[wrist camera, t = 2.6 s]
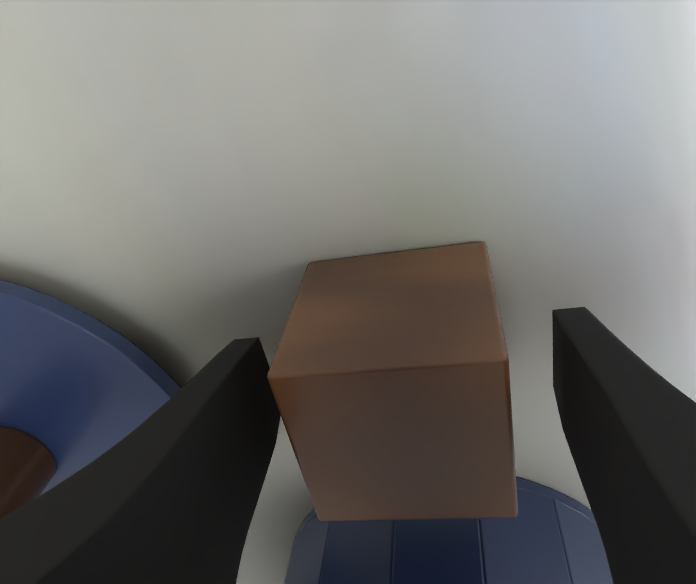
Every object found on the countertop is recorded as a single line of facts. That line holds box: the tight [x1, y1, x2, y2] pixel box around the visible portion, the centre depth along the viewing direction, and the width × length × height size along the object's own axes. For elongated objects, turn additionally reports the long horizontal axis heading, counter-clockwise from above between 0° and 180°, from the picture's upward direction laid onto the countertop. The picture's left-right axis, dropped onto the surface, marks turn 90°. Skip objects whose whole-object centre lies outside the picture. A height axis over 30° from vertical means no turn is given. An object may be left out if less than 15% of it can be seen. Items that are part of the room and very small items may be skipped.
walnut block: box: [267, 242, 518, 521], centre depth 11 cm, size 4×4×4 cm
